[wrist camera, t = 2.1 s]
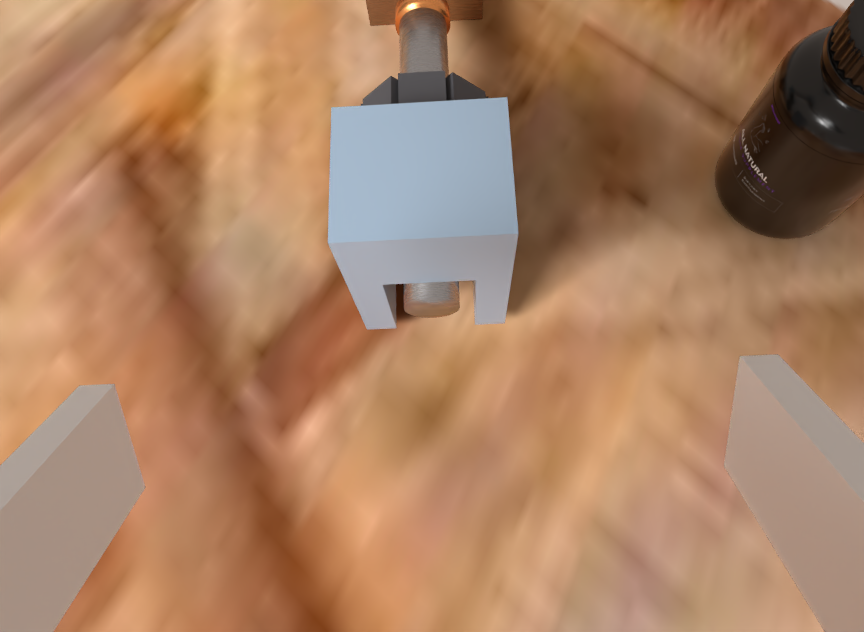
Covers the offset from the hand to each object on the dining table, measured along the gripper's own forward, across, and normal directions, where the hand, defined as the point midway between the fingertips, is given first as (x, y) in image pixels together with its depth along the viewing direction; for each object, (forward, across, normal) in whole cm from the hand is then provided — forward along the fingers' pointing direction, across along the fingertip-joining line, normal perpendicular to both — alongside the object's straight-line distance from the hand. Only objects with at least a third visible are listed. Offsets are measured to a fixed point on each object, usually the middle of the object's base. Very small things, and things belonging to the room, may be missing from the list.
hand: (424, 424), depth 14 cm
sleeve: (+21, 0, -4) cm, 21 cm away
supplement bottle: (+25, +18, -2) cm, 31 cm away
